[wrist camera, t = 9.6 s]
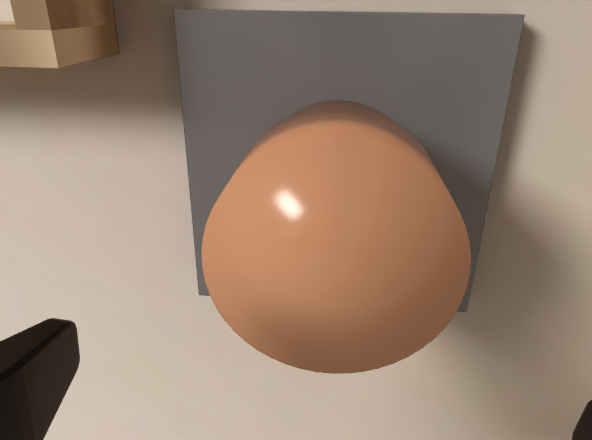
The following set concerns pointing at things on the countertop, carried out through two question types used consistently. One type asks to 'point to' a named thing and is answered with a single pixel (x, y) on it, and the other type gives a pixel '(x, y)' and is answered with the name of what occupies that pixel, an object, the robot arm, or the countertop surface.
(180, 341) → the countertop surface
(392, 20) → the slate tile
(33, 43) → the open wooden tray
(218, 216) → the peach door knob
